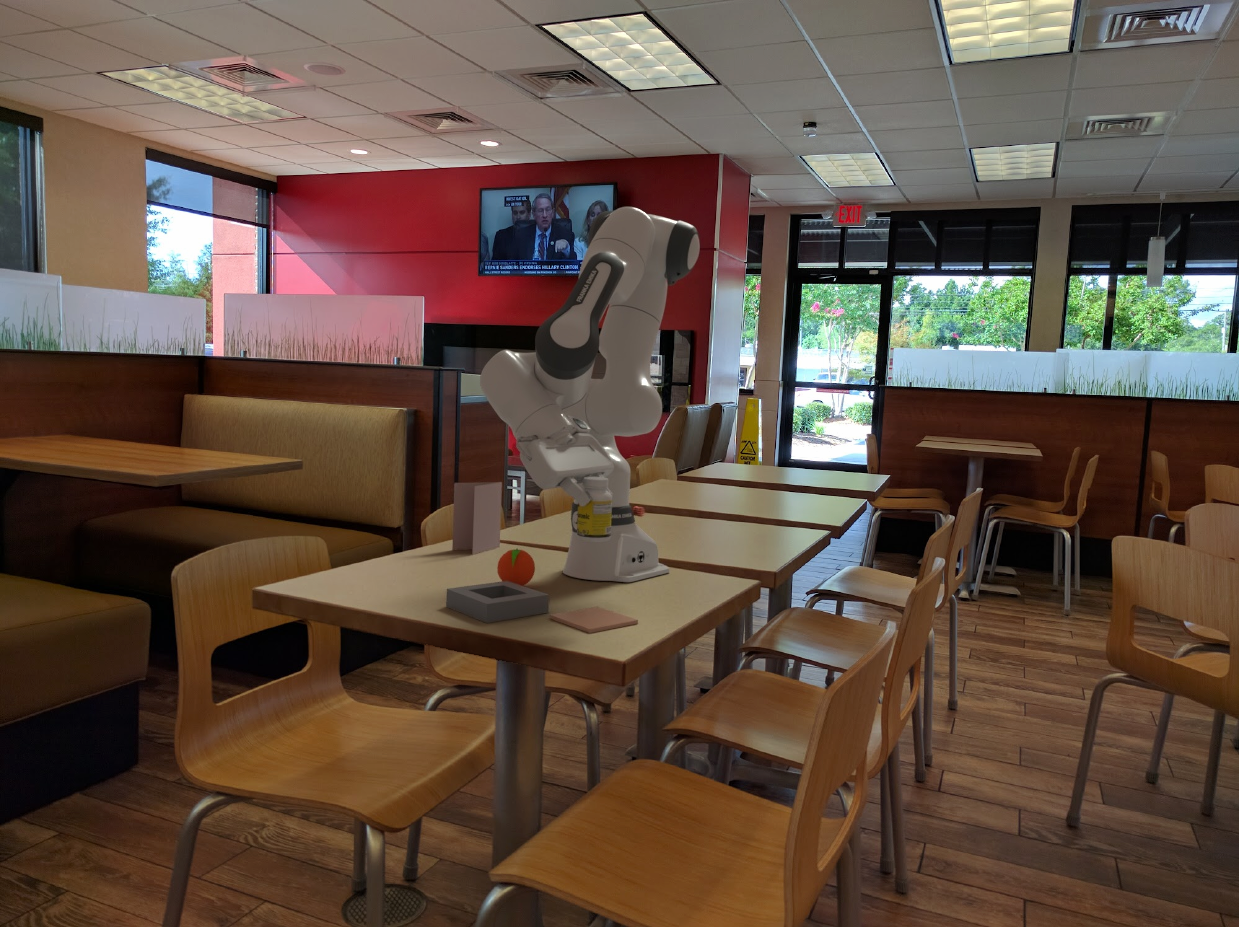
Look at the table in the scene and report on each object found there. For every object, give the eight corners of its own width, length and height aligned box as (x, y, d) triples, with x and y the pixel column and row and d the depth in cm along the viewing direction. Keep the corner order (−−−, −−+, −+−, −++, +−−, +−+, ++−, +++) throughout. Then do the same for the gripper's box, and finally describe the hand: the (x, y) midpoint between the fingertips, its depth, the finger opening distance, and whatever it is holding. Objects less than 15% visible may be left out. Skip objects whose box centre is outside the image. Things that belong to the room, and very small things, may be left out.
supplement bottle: (571, 536, 140) (574, 476, 139) (603, 536, 142) (605, 476, 141) (583, 542, 135) (586, 479, 134) (615, 541, 137) (618, 479, 136)
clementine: (531, 593, 156) (532, 554, 156) (492, 591, 157) (494, 552, 156) (536, 583, 164) (537, 546, 164) (499, 581, 164) (500, 544, 164)
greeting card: (498, 546, 200) (500, 481, 199) (511, 552, 194) (514, 485, 193) (450, 549, 194) (452, 482, 193) (463, 555, 188) (465, 486, 187)
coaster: (597, 610, 146) (597, 606, 146) (637, 623, 139) (638, 620, 139) (549, 618, 140) (549, 614, 140) (589, 633, 132) (589, 629, 132)
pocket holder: (506, 597, 152) (507, 580, 152) (548, 612, 143) (549, 594, 143) (446, 606, 144) (446, 588, 144) (486, 623, 135) (487, 604, 135)
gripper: (524, 423, 131) (578, 494, 127) (590, 421, 149) (639, 483, 145) (498, 451, 133) (551, 521, 130) (567, 446, 151) (614, 507, 148)
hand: (598, 501), depth 138 cm, fingers closed on supplement bottle, 5 cm apart
